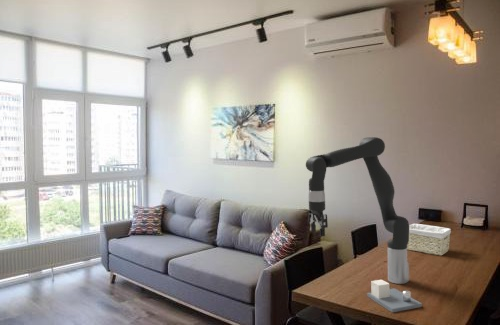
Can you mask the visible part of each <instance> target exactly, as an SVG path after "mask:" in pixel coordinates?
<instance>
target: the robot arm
mask: <svg viewBox="0 0 500 325" xmlns="http://www.w3.org/2000/svg"><path fill="white" fill-rule="evenodd" d="M385 144H386V143H385V141H384V140H383V139H382V138H380V137H373V136H372V137H364V138H361V140H360V142H359V145H356V146H351V147H345V148H340V149H336V150H334V151H331V152H328V153H327V152H326V153H322V154H318V155H313V156H310V157H309V158H307V160H306V161H305V168H306V169H307V170H308V171H309V172H312V174H311V177H310V178H309V179H308V211H307V221H308V223H309V224H310V232H311V233H316V231H317V227H316V226H317V225H318V228H319V236H320V237H323V238H324V237H325V236H326V229H327V228H328V227H329V226H328V225H329V224H328V215H327V213H326V214H324V211H326V194H325V193H326V192H325V179H326V174H327V168H335V167H337V166H341V165H344V164H346V163H347V164H348V163H349V162H352V161H356V160H360V159H362V160H363V161H364V163H365V165H366V168H367V172H368V174H369V177H370V180H371V183H372V187H373V190H374V193H375V195H376V198H377V202H378V205H379V209H380V212H381V218H382V223H383V227H384V228H385V230H386V231H387V232H389V233H391V234H392V239H389V240H388V241H387V246H386V247H387V281H388V282H390V283H393V284H396V285H397V284H398V285H403V284H407V283H408V282H410V263H409V262H408V249H407V244H408V241H409V225H410V223H409V221H408V219H407V218H406V217H404V216H402V215H401V216H400V215H398V214H397V213H396V211H395V207H394V198H395V193H396V192H395V187H394V183H393V180H392V178H391V176H390V174H389V172H387V170H386V169H385V167H383V165H382V164H381V162H380V159H379V156H381V155H382V154H383V153H384V151H385V149H386V145H385ZM316 224H317V225H316Z"/></svg>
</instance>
